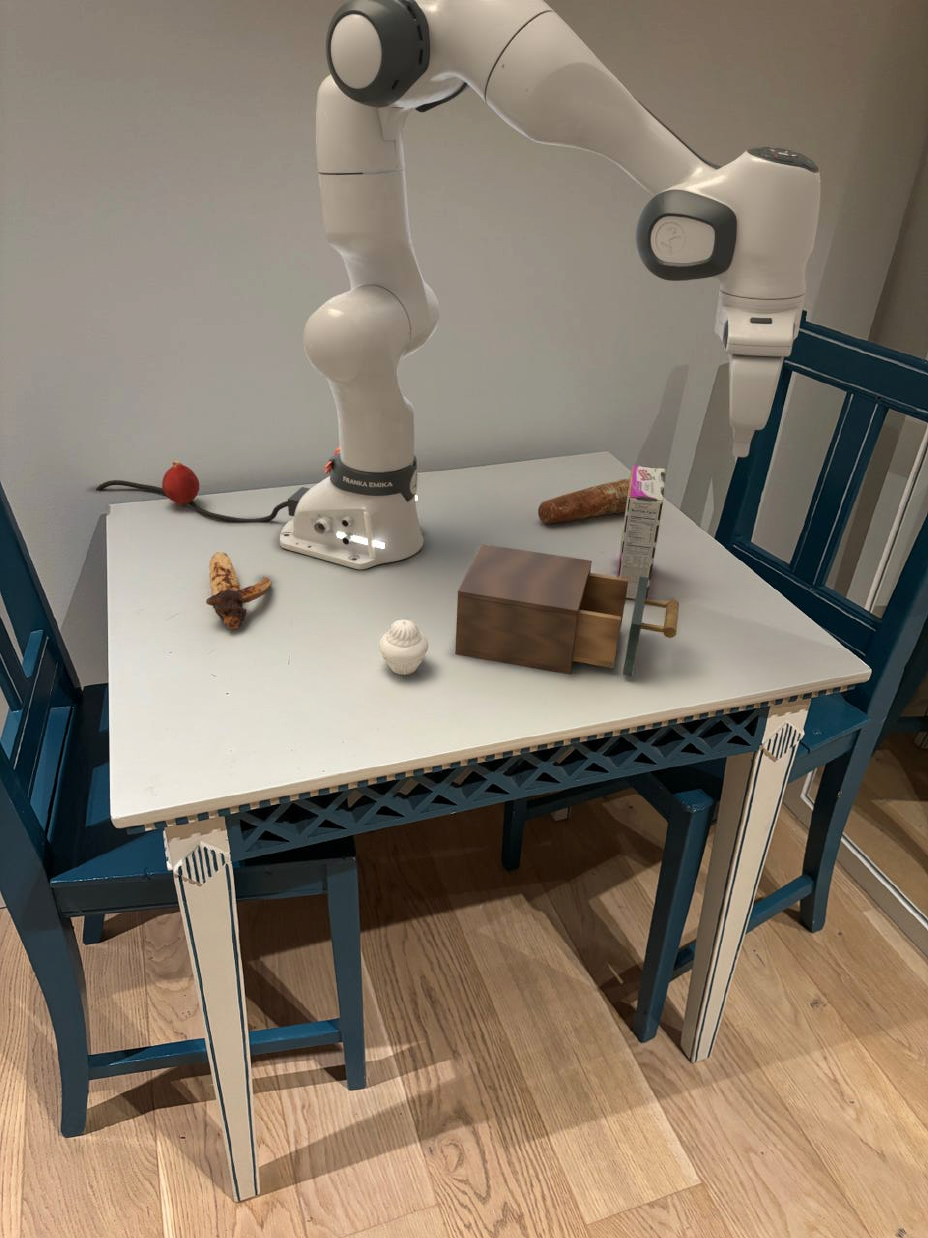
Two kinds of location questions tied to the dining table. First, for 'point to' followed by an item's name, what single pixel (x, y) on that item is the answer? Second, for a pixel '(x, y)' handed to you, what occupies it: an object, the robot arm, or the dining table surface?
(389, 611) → the dining table surface
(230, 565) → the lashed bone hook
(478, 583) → the cabinet
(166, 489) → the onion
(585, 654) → the drawer
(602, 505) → the bread
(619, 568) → the candy bar box
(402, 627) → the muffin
